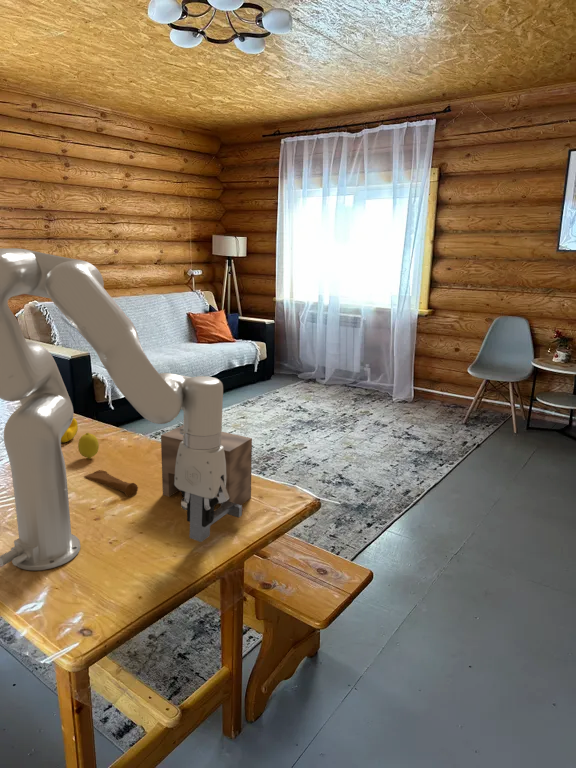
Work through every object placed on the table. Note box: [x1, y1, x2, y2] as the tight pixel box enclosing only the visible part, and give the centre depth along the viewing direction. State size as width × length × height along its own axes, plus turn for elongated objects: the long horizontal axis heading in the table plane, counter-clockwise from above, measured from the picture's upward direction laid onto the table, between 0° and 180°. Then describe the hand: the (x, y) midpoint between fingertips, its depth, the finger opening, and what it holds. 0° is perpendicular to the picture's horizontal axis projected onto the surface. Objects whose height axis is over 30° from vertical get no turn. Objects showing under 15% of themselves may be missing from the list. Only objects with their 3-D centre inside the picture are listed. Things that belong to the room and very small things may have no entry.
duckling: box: [61, 417, 79, 444], centre depth 166 cm, size 11×5×10 cm, turn 164°
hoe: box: [189, 494, 243, 543], centre depth 115 cm, size 14×5×12 cm, turn 153°
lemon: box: [77, 432, 100, 460], centre depth 154 cm, size 6×6×8 cm
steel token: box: [180, 497, 187, 511], centre depth 129 cm, size 6×6×2 cm
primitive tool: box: [83, 469, 139, 497], centre depth 139 cm, size 19×6×4 cm, turn 53°
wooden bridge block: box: [160, 424, 253, 506], centre depth 132 cm, size 10×20×16 cm, turn 63°
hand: (200, 520), depth 110 cm, fingers closed on hoe, 3 cm apart
